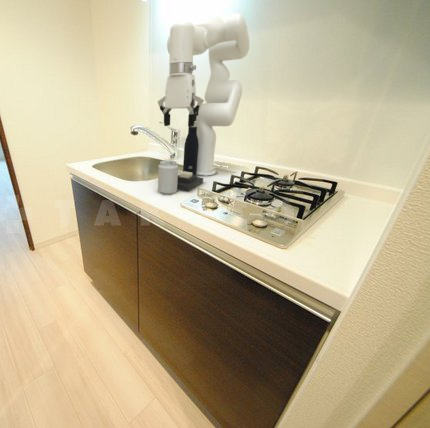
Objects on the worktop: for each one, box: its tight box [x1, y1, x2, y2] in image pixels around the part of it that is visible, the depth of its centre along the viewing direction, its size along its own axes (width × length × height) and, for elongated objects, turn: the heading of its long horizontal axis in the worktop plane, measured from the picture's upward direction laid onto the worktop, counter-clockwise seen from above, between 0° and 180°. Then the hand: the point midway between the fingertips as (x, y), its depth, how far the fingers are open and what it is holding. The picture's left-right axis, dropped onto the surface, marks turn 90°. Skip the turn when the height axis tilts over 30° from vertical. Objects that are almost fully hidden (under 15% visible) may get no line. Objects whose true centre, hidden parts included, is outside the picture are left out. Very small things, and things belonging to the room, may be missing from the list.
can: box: [157, 159, 179, 195], centre depth 88 cm, size 8×8×12 cm
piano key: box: [179, 171, 193, 178], centre depth 96 cm, size 4×4×2 cm
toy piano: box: [177, 174, 204, 193], centre depth 97 cm, size 14×10×4 cm
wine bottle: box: [182, 110, 199, 175], centre depth 104 cm, size 6×6×30 cm
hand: (178, 126), depth 83 cm, fingers open, 9 cm apart
